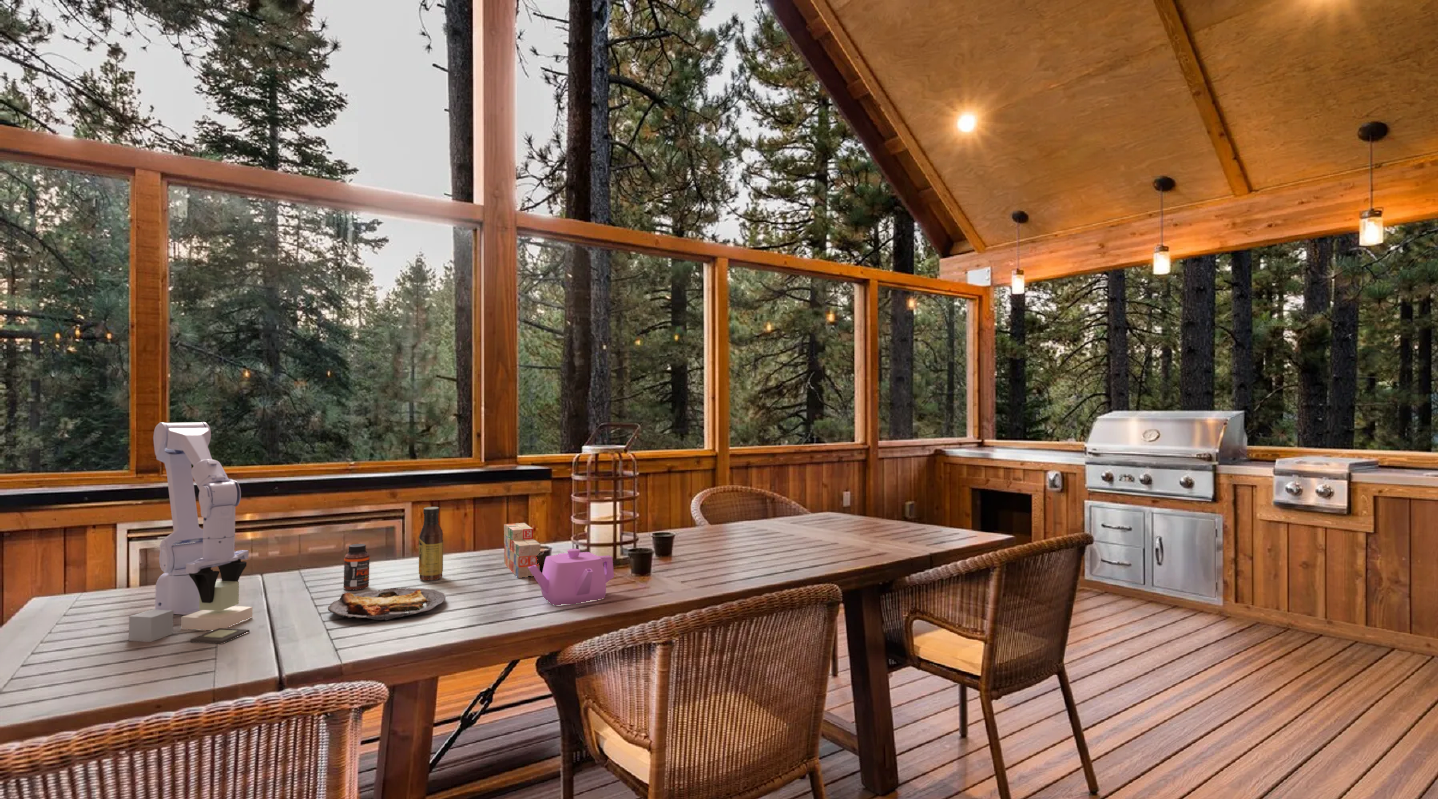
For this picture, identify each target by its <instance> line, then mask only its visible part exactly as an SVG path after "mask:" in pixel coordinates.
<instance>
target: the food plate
mask: <svg viewBox="0 0 1438 799" xmlns="http://www.w3.org/2000/svg"><path fill="white" fill-rule="evenodd" d="M445 600H446V596H445V592H442V591H438V590H436V589H431V588H424V587H423V588H421V587H419V588H418V587H417V588H416V587H415V588H412V587H406V586H405V587H402V586H401V587H400V588H399V587H390V588H384V589H377V590H370V591H365V592H359V593H351V592H344V593H342V594H341V596H340V598H339V599H337V600H335V601H333V602H331V603H330V604H329V606H328V607H327V611H328V612H329V613H333V614H335V616H340V617H343V618H348V619H350V618H352V617H355V619H362V618H366V619H371V620H373V621H374V620H379V621H382V620H384V621H388V620H391V619H395V618H402V617H407V616H410V615H411V616H412V615H414V614H419V613H422V612H426V611H430V610H433V609H434V608H435V607H436V606H438V605H441V604H442V603H443V602H444V601H445ZM424 604H425V606H426V607H424Z"/></svg>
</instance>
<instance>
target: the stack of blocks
mask: <svg viewBox="0 0 1438 799" xmlns="http://www.w3.org/2000/svg"><path fill="white" fill-rule="evenodd" d="M503 531H504V532H503V534H504V535H503V544H504V547H503V548H504V553H503V564H504V565H505V567H506V568H507V569H509V571H510V572H512V573H513V575H514V576H517V577H516V578H518V579H522V577H525V578H529V577H528V576H533V575H532V573H531V572H530V570H529V568H528V567H530V566H533V565H536V566H537V568H538V569H539V570H540V569H541V568H540V567H541V566H540V565H539V563H538V564H537V560H538V559H537V557H536V556H537V555H538V554H539V553H540V554H541V543H539V541H537V540H536V539H535V538H534V528H533V527H531V526H529V525H528V524H527V523H526V522H520V523H519V522H516V523H506V524H505V523H504V524H503ZM540 571H541V570H540Z"/></svg>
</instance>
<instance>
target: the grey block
mask: <svg viewBox="0 0 1438 799" xmlns="http://www.w3.org/2000/svg"><path fill="white" fill-rule="evenodd" d="M173 634H174V614H173V610H155V608H154V609H148V610H145V611H143V612H140V613H136V614H132V615H129V617H128V641H130V642H149V643H150V642H151V643H152V642H154V641H157V640H160V639H163V638H165V637H168V636H171V635H173Z"/></svg>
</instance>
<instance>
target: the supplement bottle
mask: <svg viewBox="0 0 1438 799" xmlns="http://www.w3.org/2000/svg"><path fill="white" fill-rule="evenodd" d="M366 549H367V545H366V544H365V543H354V544H349V545H348V552H347V553H346V554H345V556H344V559H343V560H344V561H343V562H344V563H343V589H344V590H346V591H359V590H361V591H362V590H365V589H367V588H368V587H369V584H370V561H371V560H370V556H371V555H370V553H369V552H368V551H367V550H366Z"/></svg>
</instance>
